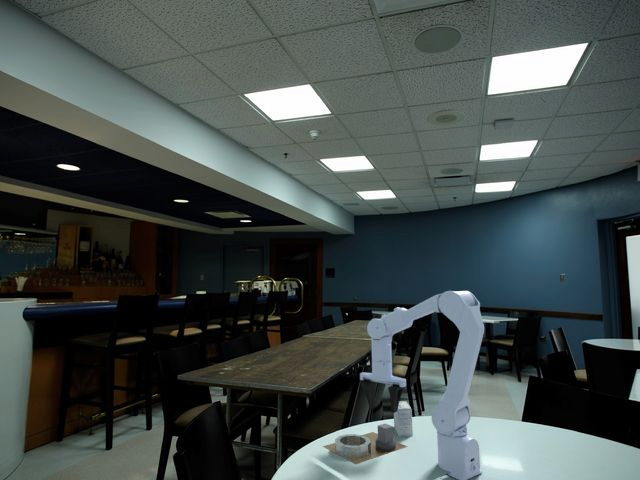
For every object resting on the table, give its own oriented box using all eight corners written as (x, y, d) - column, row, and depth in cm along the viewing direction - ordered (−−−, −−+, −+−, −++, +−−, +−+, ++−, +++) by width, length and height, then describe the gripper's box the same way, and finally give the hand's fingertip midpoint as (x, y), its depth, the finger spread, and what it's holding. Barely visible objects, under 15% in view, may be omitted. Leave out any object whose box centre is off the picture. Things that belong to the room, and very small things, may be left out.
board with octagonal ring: (407, 449, 111) (407, 437, 111) (355, 467, 100) (355, 453, 100) (372, 434, 122) (372, 423, 122) (323, 449, 111) (322, 436, 111)
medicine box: (413, 438, 119) (412, 408, 120) (398, 438, 119) (397, 408, 120) (407, 429, 127) (407, 401, 128) (393, 429, 127) (393, 401, 128)
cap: (400, 447, 110) (399, 426, 111) (385, 452, 107) (385, 431, 108) (385, 441, 115) (385, 421, 115) (371, 445, 111) (371, 425, 112)
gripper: (410, 361, 114) (412, 410, 112) (369, 356, 123) (370, 401, 122) (398, 364, 109) (399, 416, 107) (355, 359, 118) (356, 406, 117)
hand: (383, 409), depth 114 cm, fingers open, 7 cm apart
